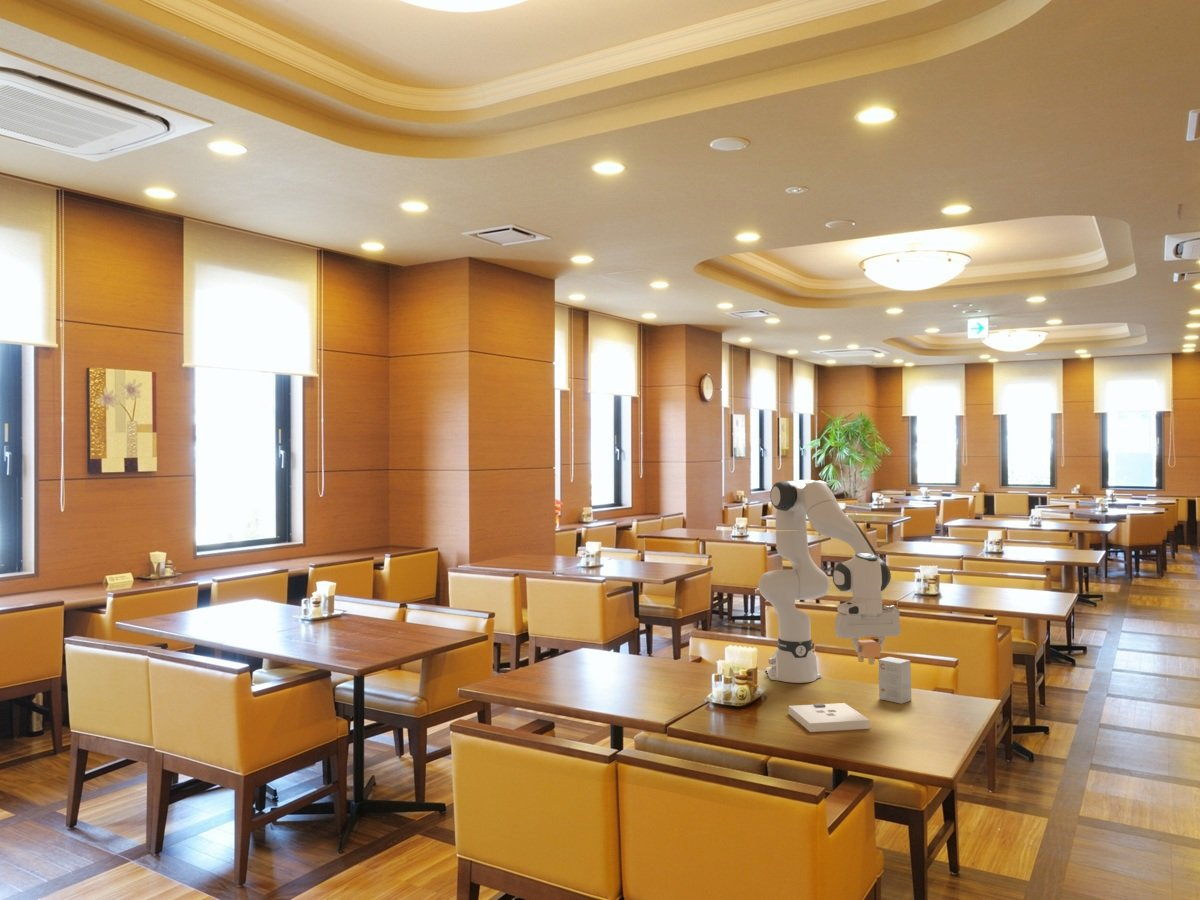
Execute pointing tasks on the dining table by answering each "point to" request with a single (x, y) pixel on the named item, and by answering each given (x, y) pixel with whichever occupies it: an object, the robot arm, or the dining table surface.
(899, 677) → the small box
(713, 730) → the dining table surface
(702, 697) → the dining table surface
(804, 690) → the dining table surface
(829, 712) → the socket plate
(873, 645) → the plug
